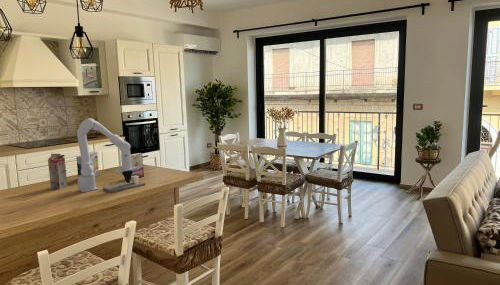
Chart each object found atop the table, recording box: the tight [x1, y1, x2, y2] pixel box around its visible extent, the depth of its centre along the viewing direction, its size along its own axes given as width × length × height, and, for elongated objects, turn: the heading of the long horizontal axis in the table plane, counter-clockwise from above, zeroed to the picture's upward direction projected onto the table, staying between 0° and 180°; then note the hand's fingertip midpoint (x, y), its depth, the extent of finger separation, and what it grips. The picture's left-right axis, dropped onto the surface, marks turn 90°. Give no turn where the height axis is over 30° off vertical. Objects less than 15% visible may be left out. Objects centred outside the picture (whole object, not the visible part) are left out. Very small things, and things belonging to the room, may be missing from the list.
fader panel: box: [102, 180, 146, 194], centre depth 225 cm, size 22×12×1 cm, turn 136°
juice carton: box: [47, 153, 68, 190], centre depth 226 cm, size 7×7×22 cm
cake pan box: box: [75, 151, 100, 179], centre depth 248 cm, size 19×5×18 cm, turn 171°
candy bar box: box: [130, 152, 145, 180], centre depth 249 cm, size 11×5×16 cm, turn 143°
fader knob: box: [130, 176, 140, 183], centre depth 230 cm, size 3×4×4 cm
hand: (127, 182), depth 227 cm, fingers closed
